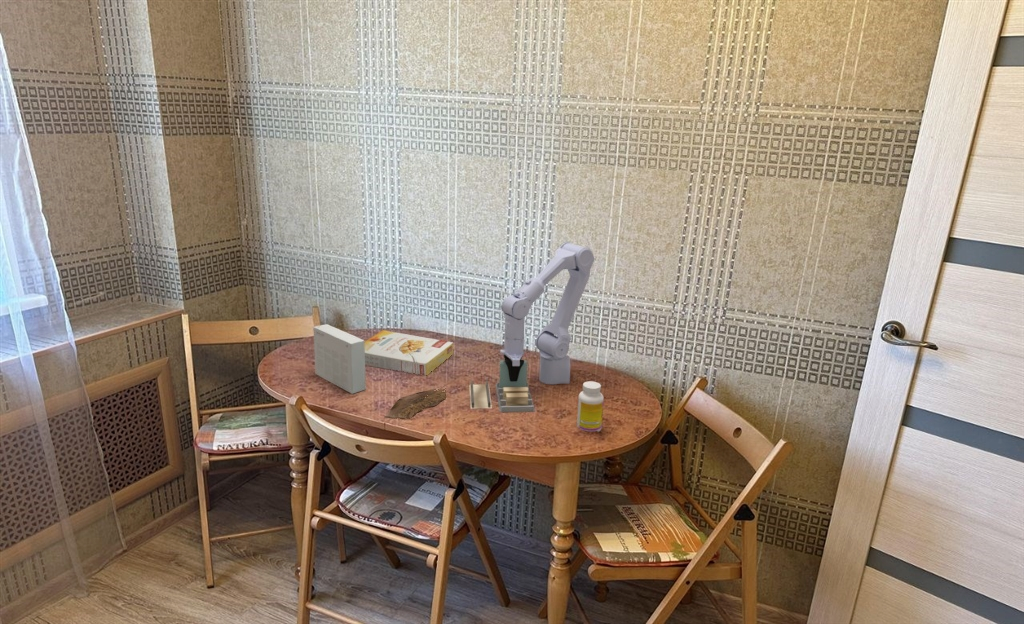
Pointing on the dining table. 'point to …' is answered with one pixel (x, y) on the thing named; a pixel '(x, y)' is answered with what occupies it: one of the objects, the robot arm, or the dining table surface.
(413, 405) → the wooden fragment
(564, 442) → the dining table surface
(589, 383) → the supplement bottle
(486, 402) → the holder
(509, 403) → the offcut front
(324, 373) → the skincare box
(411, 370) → the cereal box
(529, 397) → the rack
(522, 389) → the block
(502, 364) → the teal rectangular block
